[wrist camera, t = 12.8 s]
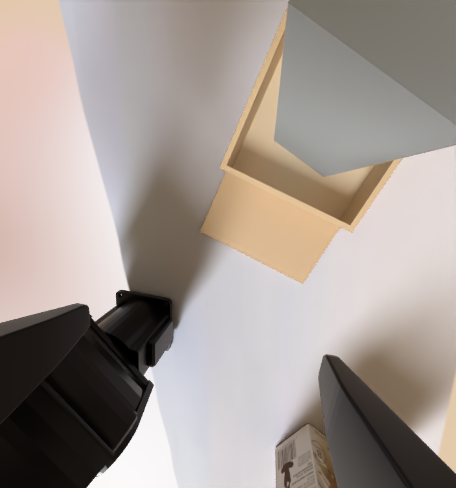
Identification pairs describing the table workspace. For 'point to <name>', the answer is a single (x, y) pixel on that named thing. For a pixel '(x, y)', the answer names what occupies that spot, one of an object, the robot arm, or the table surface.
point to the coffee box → (305, 461)
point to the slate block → (366, 81)
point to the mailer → (283, 188)
